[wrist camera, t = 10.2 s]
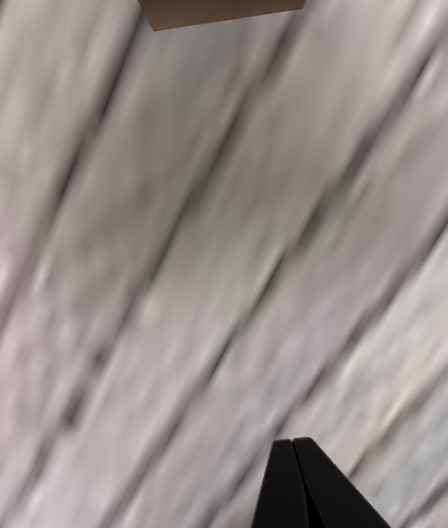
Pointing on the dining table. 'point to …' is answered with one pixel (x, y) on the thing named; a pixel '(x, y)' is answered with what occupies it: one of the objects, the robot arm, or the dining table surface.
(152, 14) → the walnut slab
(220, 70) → the dining table surface
